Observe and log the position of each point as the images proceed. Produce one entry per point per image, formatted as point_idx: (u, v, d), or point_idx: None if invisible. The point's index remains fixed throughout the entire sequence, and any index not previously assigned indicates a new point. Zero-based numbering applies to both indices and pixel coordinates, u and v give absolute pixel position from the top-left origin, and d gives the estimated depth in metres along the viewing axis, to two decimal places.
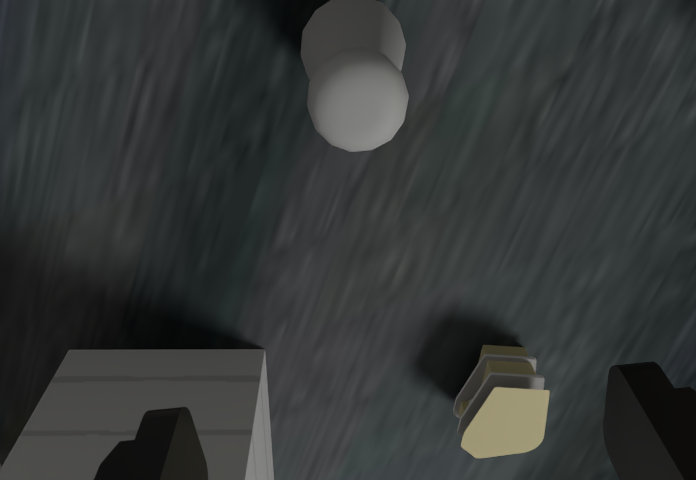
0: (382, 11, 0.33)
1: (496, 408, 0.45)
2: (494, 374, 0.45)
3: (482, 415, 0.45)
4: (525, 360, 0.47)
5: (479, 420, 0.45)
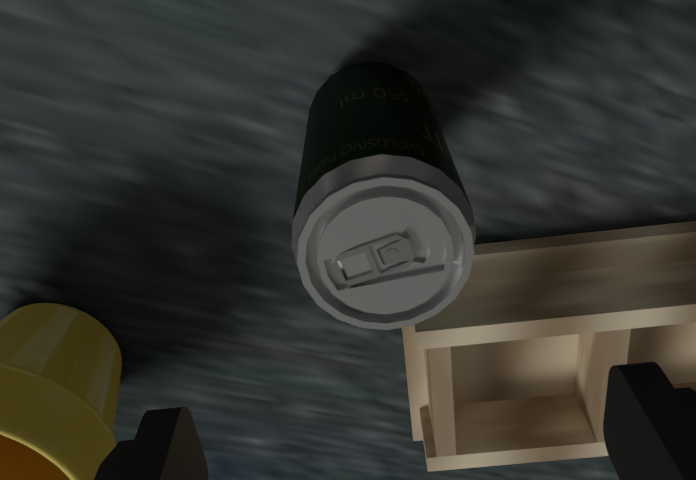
0: None
1: None
2: None
3: None
4: None
5: None
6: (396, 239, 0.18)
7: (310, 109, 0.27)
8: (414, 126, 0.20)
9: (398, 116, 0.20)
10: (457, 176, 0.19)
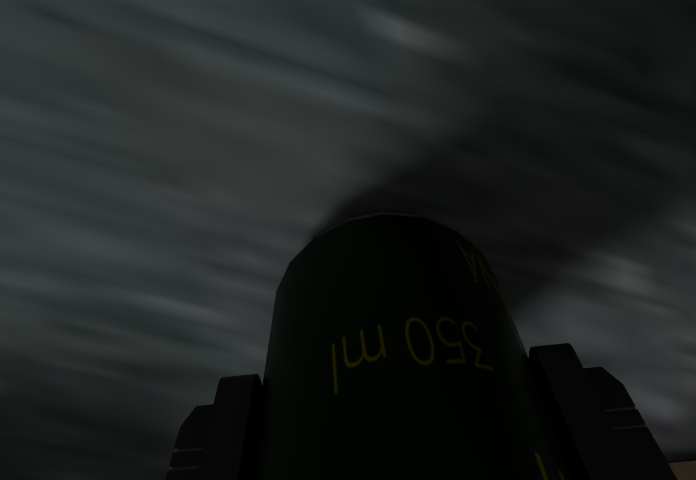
0: None
1: None
2: None
3: None
4: None
5: None
6: None
7: (277, 298, 0.14)
8: None
9: (479, 469, 0.08)
10: None
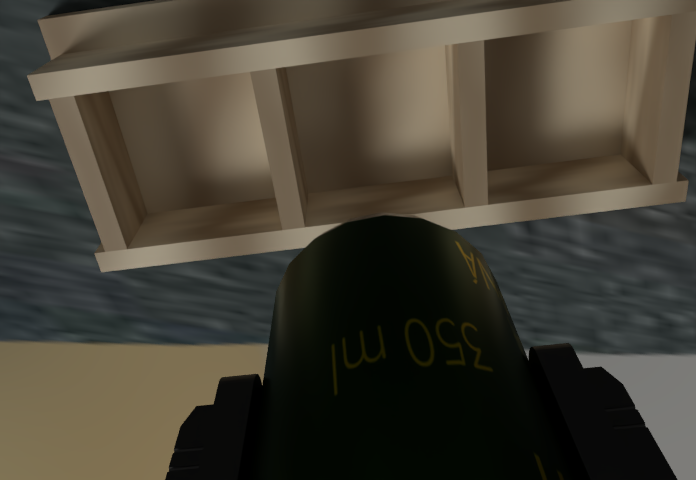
0: None
1: None
2: None
3: None
4: None
5: None
6: None
7: (276, 299, 0.14)
8: None
9: (479, 470, 0.08)
10: None
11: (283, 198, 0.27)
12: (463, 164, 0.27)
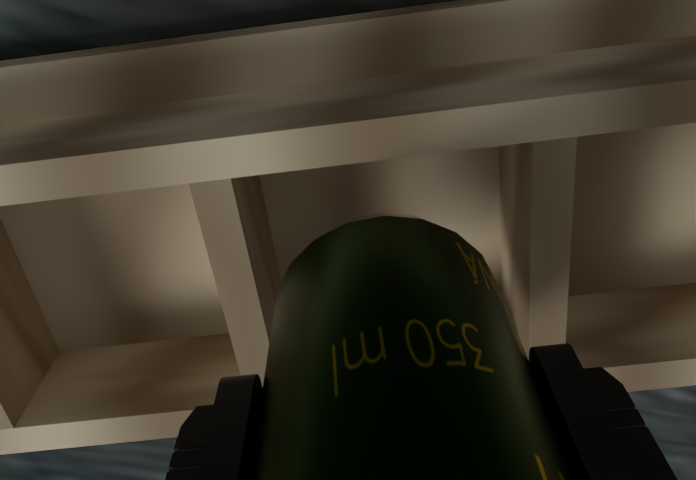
0: None
1: None
2: None
3: None
4: None
5: None
6: None
7: (277, 300, 0.14)
8: None
9: (479, 471, 0.08)
10: None
11: (249, 362, 0.18)
12: (529, 317, 0.17)
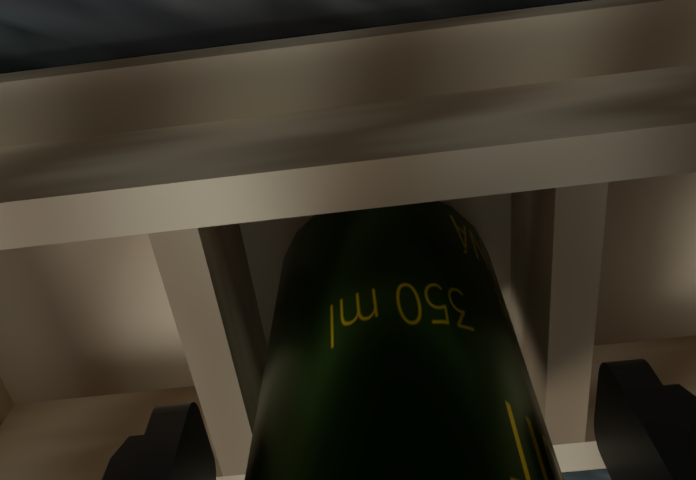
0: None
1: None
2: None
3: None
4: None
5: None
6: None
7: (283, 266, 0.15)
8: (491, 443, 0.09)
9: (454, 412, 0.09)
10: None
11: (223, 432, 0.15)
12: (547, 382, 0.15)
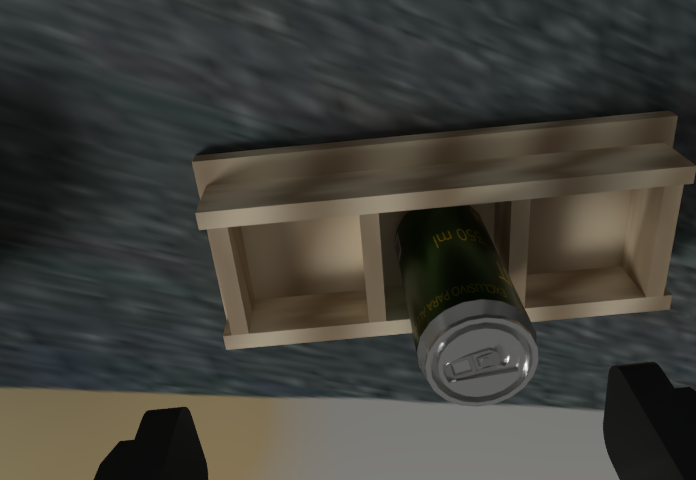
0: None
1: None
2: None
3: None
4: None
5: None
6: (489, 351, 0.28)
7: (399, 230, 0.36)
8: (492, 268, 0.30)
9: (481, 260, 0.30)
10: None
11: (373, 300, 0.36)
12: None
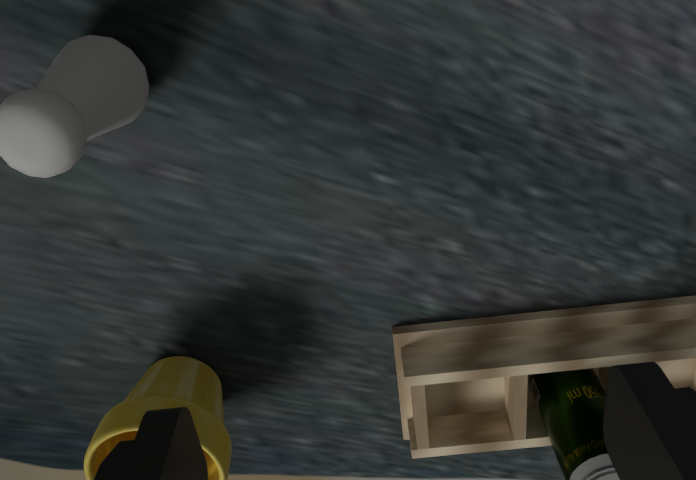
0: (135, 112, 0.39)
1: None
2: None
3: None
4: None
5: None
6: None
7: (534, 376, 0.52)
8: None
9: None
10: None
11: (518, 426, 0.52)
12: None
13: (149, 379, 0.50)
